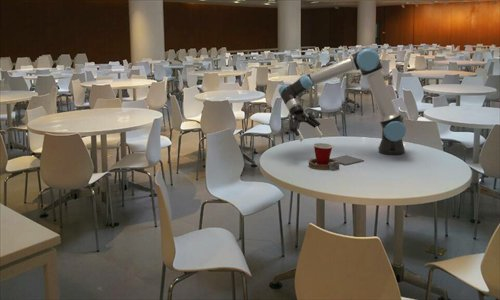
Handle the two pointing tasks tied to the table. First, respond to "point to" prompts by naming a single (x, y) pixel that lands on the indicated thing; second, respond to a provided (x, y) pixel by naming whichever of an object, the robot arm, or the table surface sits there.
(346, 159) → the rubber pad
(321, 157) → the plastic cup
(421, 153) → the table surface
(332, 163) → the walnut collar
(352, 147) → the table surface
